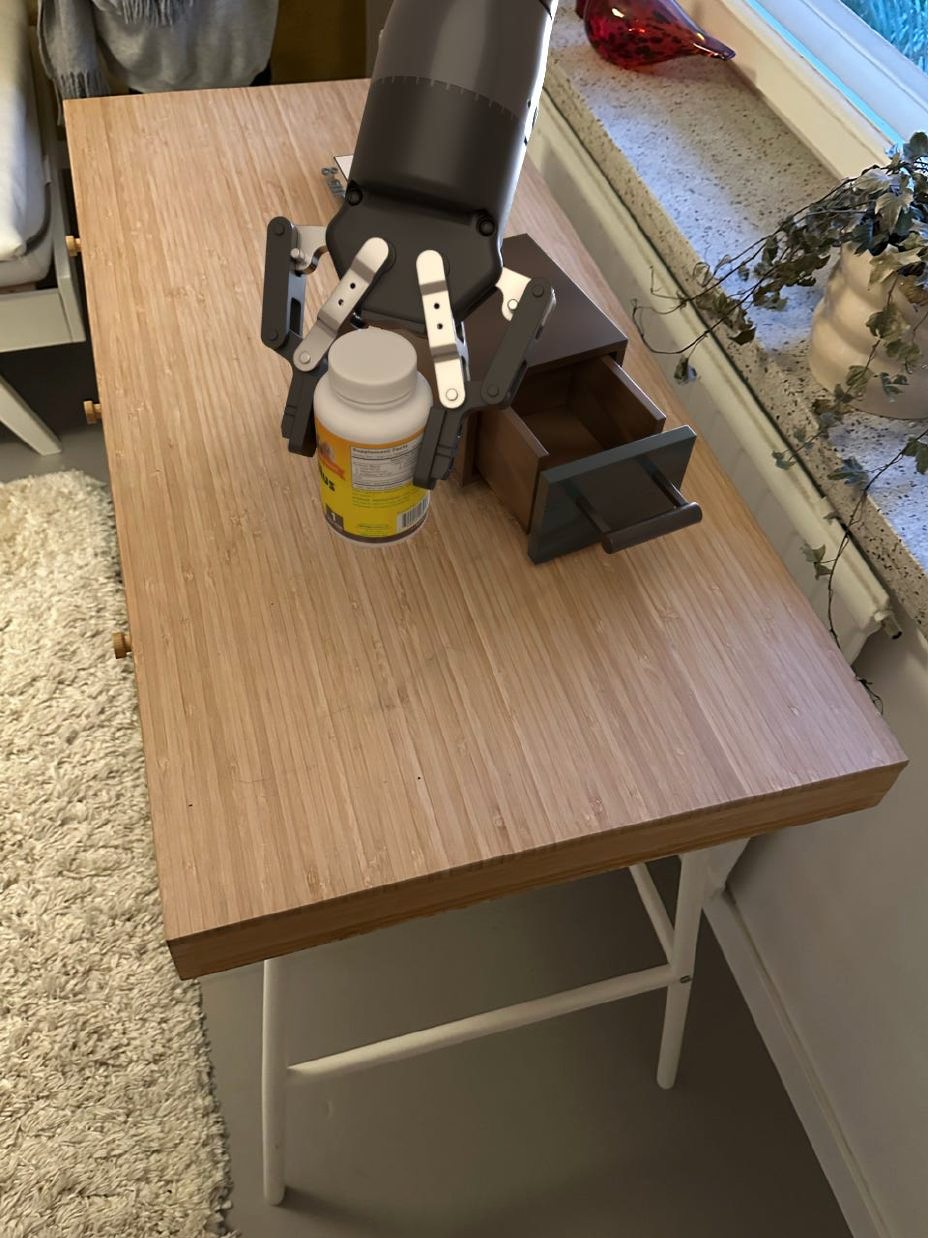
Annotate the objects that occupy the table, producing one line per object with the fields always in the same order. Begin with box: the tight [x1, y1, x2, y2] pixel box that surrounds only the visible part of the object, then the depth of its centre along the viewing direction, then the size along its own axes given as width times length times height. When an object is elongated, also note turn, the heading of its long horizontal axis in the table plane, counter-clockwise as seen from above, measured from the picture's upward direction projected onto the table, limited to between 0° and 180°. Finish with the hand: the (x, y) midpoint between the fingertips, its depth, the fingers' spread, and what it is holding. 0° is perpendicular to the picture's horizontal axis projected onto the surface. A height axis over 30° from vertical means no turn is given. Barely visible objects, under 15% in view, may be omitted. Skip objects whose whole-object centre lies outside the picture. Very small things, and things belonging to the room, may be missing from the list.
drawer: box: [473, 354, 704, 566], centre depth 71 cm, size 18×11×8 cm, turn 27°
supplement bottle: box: [314, 328, 433, 549], centre depth 49 cm, size 6×6×10 cm
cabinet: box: [383, 232, 629, 488], centre depth 77 cm, size 15×13×10 cm
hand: (362, 470), depth 48 cm, fingers closed on supplement bottle, 5 cm apart
